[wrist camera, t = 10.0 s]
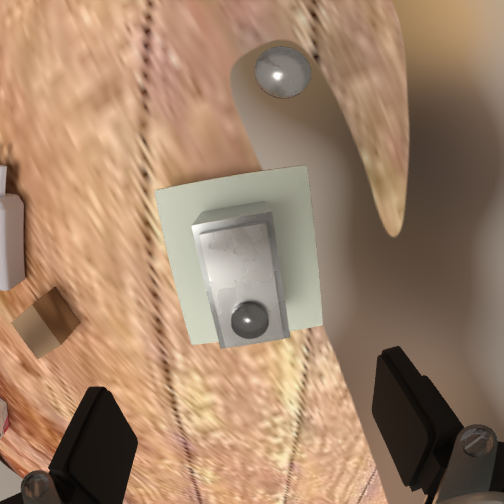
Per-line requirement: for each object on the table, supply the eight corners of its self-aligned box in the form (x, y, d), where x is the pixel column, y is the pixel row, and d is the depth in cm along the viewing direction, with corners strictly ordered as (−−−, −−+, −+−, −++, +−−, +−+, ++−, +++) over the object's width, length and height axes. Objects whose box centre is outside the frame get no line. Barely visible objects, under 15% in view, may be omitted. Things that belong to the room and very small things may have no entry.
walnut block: (33, 303, 30) (11, 322, 26) (55, 286, 30) (32, 305, 25) (56, 337, 32) (37, 359, 27) (80, 322, 31) (61, 344, 26)
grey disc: (248, 55, 24) (249, 51, 23) (301, 46, 24) (303, 43, 23) (261, 103, 26) (262, 101, 25) (314, 93, 26) (317, 91, 25)
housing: (201, 211, 24) (187, 230, 18) (265, 200, 24) (274, 215, 18) (223, 314, 27) (219, 359, 20) (281, 305, 27) (293, 348, 20)
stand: (165, 186, 27) (154, 190, 23) (297, 164, 27) (306, 165, 23) (196, 323, 31) (191, 345, 27) (313, 305, 31) (322, 325, 27)
